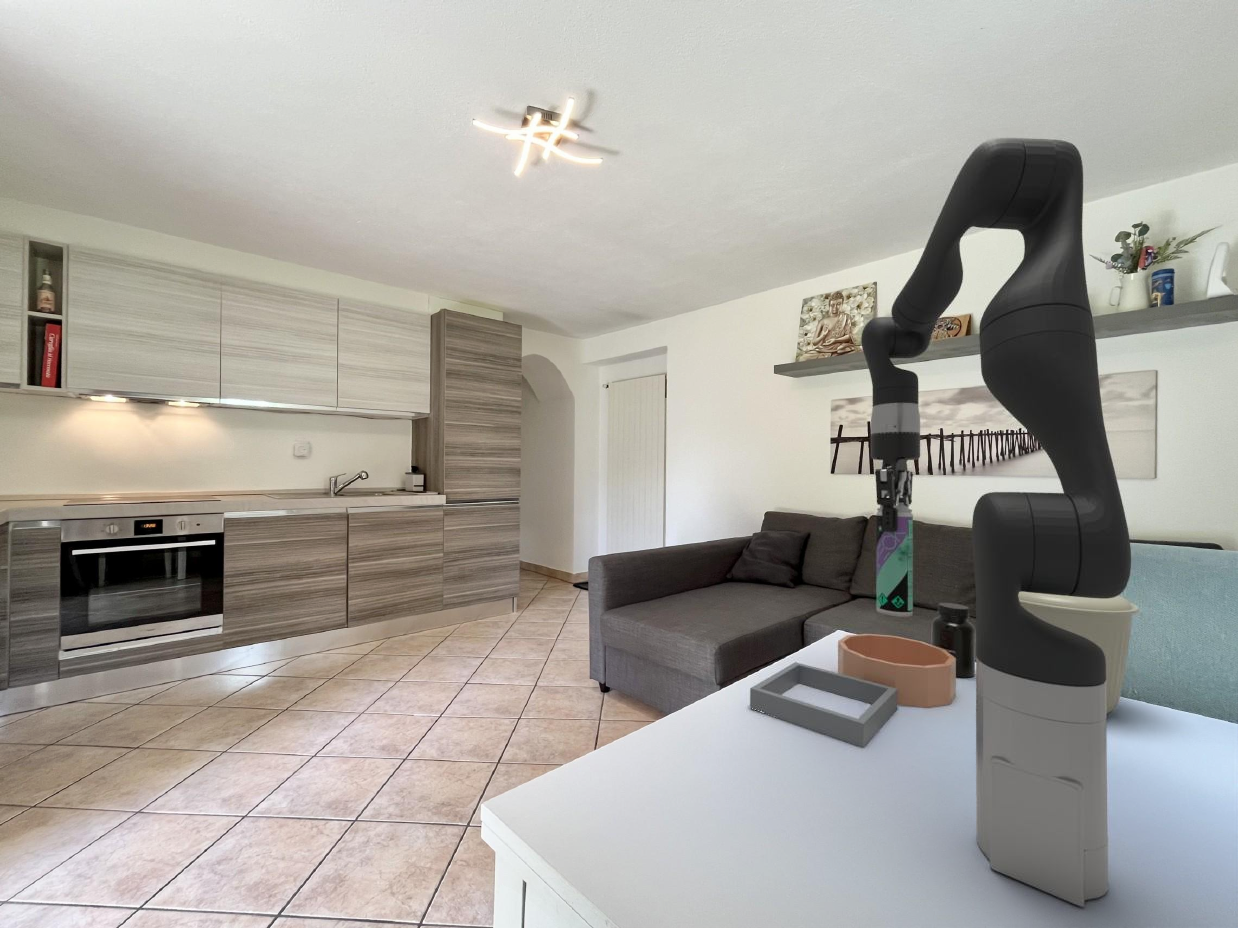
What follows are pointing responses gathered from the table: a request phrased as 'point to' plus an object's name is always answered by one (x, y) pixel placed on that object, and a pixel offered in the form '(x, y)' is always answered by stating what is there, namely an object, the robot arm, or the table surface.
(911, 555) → the spray can
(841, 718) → the parts tray
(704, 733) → the table surface
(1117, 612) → the canister
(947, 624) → the supplement bottle
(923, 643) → the bowl
